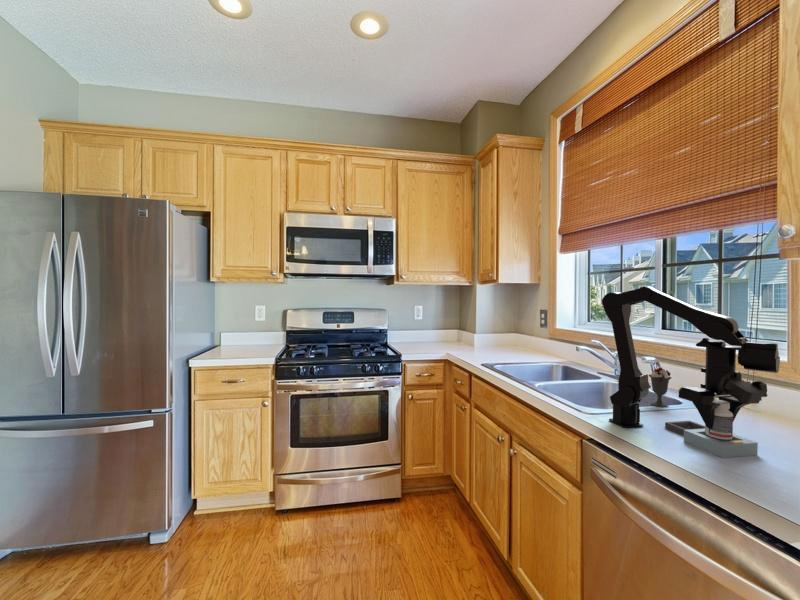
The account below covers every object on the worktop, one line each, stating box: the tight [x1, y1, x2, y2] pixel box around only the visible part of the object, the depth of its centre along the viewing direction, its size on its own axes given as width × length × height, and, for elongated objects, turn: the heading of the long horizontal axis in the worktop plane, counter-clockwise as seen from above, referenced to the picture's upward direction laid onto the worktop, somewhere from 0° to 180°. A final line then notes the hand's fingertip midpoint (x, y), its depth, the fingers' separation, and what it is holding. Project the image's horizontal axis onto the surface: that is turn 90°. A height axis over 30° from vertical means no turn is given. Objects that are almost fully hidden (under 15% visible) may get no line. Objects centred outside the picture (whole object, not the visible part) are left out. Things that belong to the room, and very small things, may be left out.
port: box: [683, 428, 759, 459], centre depth 93 cm, size 10×10×3 cm
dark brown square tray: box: [664, 420, 705, 436], centre depth 103 cm, size 8×8×2 cm
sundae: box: [648, 362, 673, 408], centre depth 128 cm, size 7×7×15 cm
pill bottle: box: [704, 398, 734, 440], centre depth 93 cm, size 5×5×9 cm
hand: (718, 427), depth 93 cm, fingers closed on pill bottle, 5 cm apart
